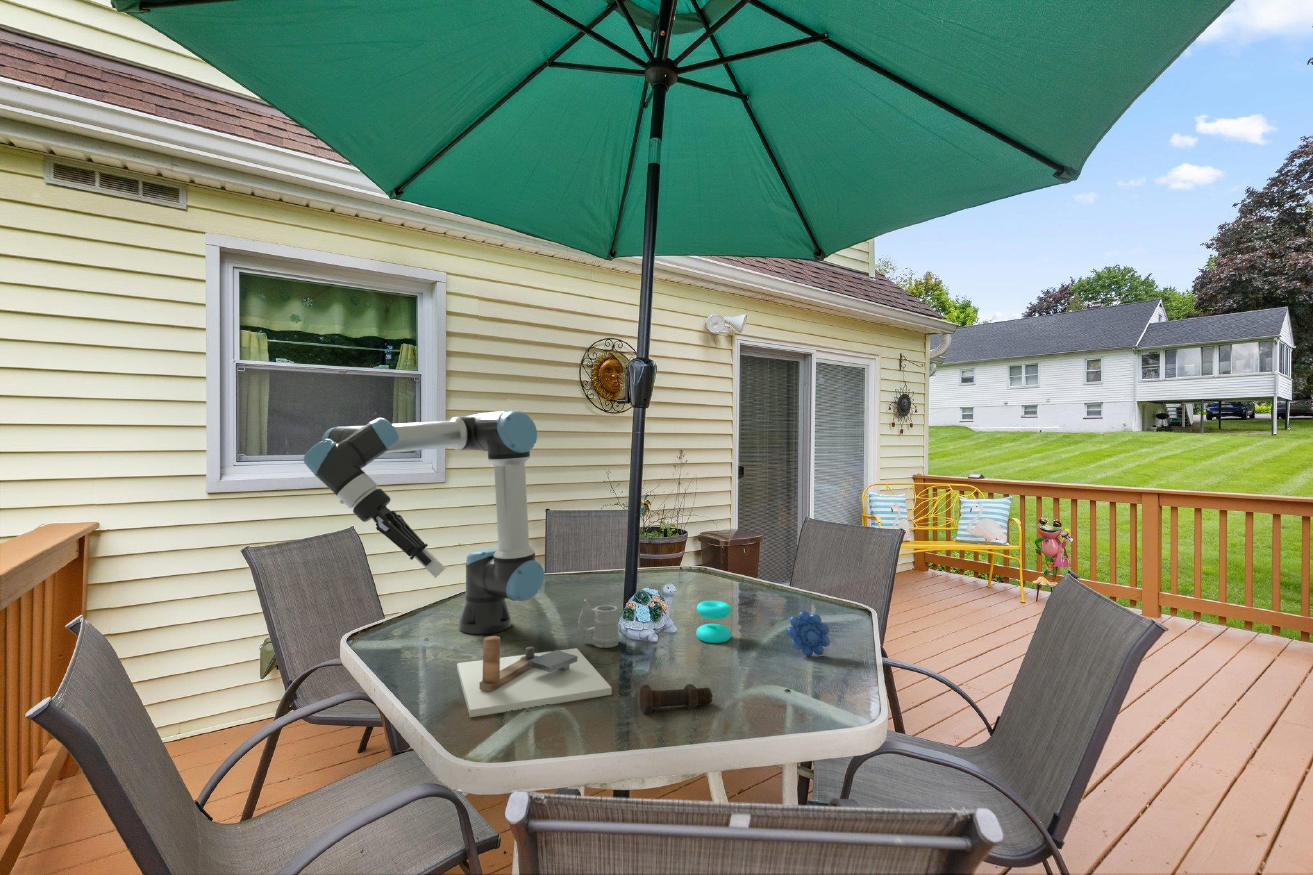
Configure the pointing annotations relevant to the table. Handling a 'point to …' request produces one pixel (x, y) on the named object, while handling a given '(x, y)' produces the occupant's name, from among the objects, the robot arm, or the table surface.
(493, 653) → the link
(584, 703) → the table surface
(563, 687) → the base plate
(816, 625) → the blue knobby flower
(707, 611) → the donuts
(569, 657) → the block
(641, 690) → the bolt
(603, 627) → the mug
